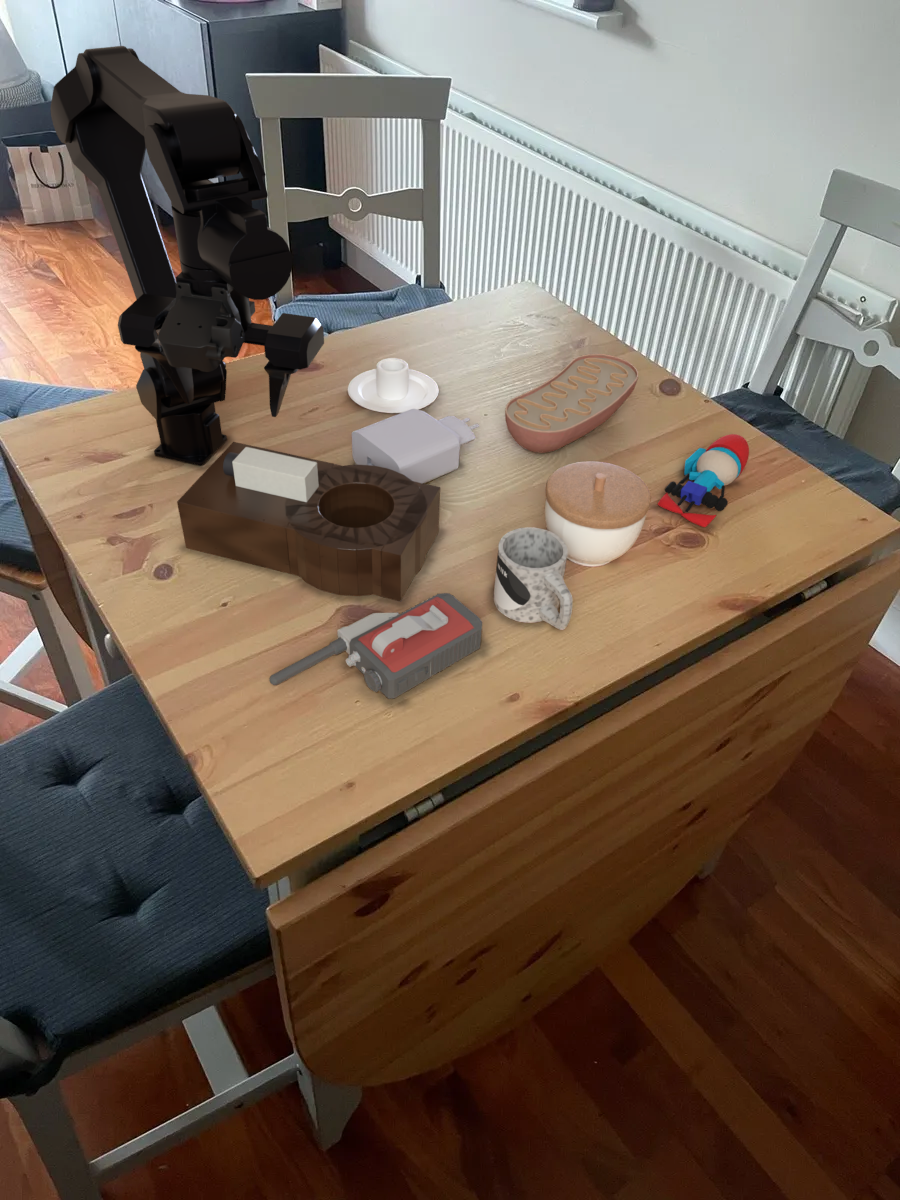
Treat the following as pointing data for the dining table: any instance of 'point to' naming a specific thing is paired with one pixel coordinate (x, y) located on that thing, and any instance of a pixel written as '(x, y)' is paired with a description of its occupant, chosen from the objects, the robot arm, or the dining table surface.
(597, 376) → the anatomical model
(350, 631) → the walkie-talkie
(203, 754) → the dining table surface
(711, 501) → the toy figure
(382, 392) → the candle holder
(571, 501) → the trinket box
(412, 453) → the charger
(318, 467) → the wooden desk organizer
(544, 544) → the mug
